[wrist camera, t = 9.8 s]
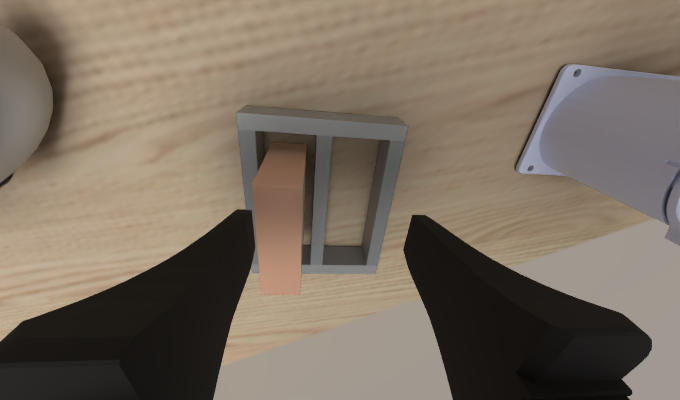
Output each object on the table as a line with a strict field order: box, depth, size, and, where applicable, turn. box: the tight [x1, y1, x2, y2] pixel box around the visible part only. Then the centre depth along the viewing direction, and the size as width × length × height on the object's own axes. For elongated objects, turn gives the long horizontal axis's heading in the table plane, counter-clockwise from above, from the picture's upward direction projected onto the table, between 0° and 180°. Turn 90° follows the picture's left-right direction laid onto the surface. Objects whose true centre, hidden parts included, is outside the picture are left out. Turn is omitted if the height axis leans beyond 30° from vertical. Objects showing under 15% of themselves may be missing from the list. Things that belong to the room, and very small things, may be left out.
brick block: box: [252, 142, 307, 295], centre depth 18 cm, size 2×8×7 cm, turn 174°
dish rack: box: [236, 105, 409, 274], centre depth 20 cm, size 11×13×2 cm
